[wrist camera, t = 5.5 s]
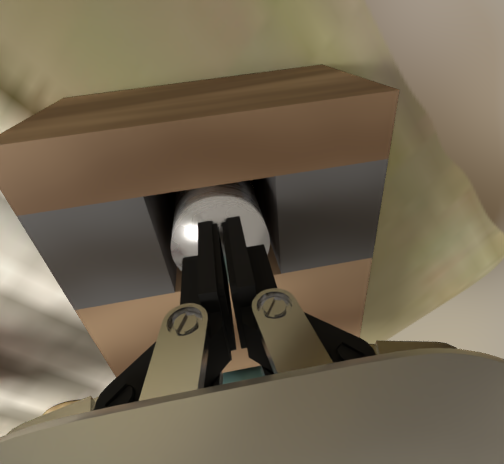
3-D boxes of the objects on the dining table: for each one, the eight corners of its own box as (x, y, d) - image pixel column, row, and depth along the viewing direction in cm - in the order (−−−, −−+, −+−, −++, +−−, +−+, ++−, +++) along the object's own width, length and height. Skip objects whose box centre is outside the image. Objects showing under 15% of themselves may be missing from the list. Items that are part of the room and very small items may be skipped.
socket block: (63, 97, 16) (-25, 148, 10) (321, 64, 17) (399, 89, 11) (167, 350, 29) (159, 447, 22) (314, 322, 30) (348, 407, 23)
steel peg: (170, 149, 17) (158, 213, 11) (242, 139, 17) (266, 196, 12) (186, 211, 19) (183, 291, 14) (249, 201, 20) (272, 275, 14)
